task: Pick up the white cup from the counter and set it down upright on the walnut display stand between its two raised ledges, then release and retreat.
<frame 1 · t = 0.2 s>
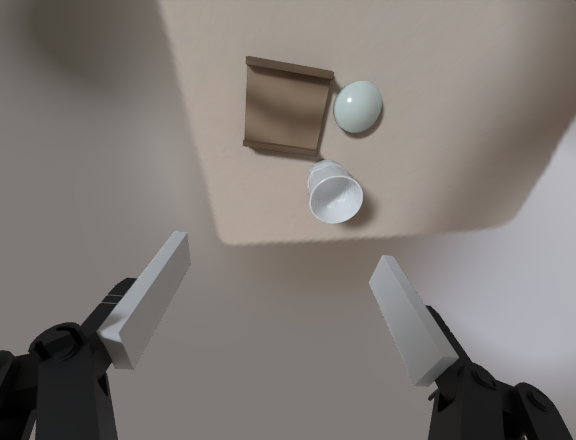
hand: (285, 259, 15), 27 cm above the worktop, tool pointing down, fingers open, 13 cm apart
pale mint domed disc: (354, 107, 34), on the worktop
white cup: (325, 176, 40), on the worktop
stand: (284, 110, 34), on the worktop
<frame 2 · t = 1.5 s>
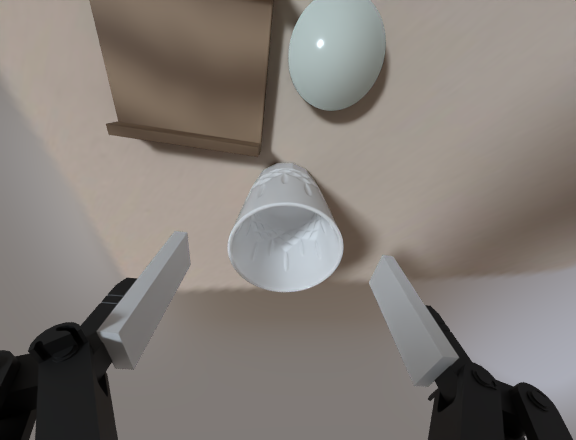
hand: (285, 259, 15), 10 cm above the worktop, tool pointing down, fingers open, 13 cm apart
pale mint domed disc: (331, 59, 17), on the worktop
white cup: (285, 191, 23), on the worktop
stand: (191, 63, 17), on the worktop
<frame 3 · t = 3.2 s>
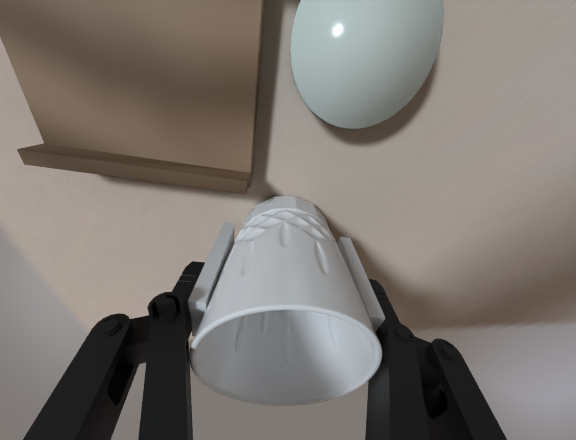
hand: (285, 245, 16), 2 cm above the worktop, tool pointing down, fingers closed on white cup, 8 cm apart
pale mint domed disc: (353, 54, 12), on the worktop
white cup: (285, 231, 18), on the worktop, touching gripper
stand: (147, 60, 12), on the worktop
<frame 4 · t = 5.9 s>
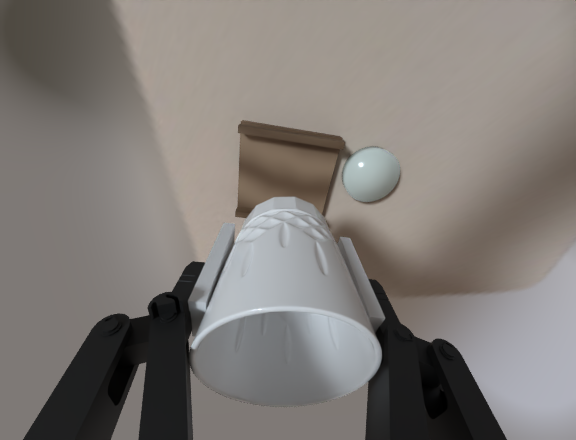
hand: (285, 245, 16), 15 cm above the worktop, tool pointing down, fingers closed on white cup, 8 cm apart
pale mint domed disc: (367, 172, 29), on the worktop
white cup: (285, 231, 18), point 13 cm above the worktop, touching gripper
stand: (285, 175, 29), on the worktop
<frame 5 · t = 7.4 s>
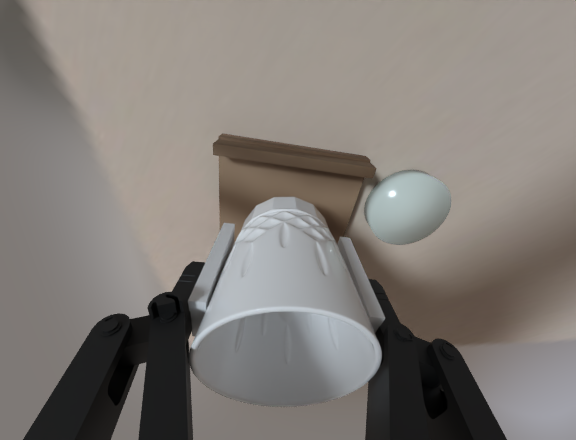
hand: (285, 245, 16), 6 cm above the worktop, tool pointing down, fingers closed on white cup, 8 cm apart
pale mint domed disc: (399, 203, 21), on the worktop
white cup: (285, 231, 18), point 4 cm above the worktop, touching gripper
stand: (285, 208, 21), on the worktop
when the fingers open (4 cm above the worktop, at t = 8.6 s): white cup drops 1 cm, resting on stand.
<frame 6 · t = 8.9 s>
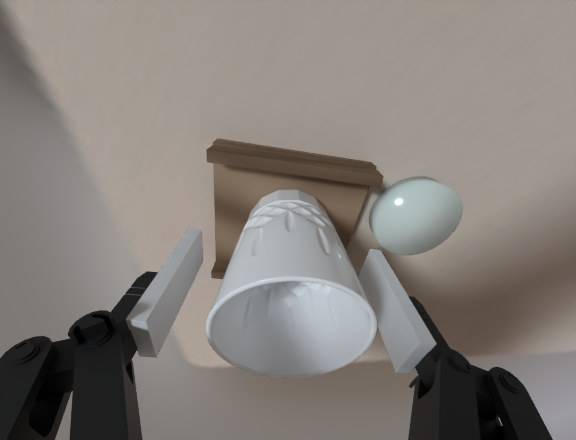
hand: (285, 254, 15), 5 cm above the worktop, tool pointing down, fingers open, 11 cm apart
pale mint domed disc: (406, 211, 20), on the worktop
white cup: (288, 223, 19), point 1 cm above the worktop, touching stand
stand: (285, 217, 20), on the worktop
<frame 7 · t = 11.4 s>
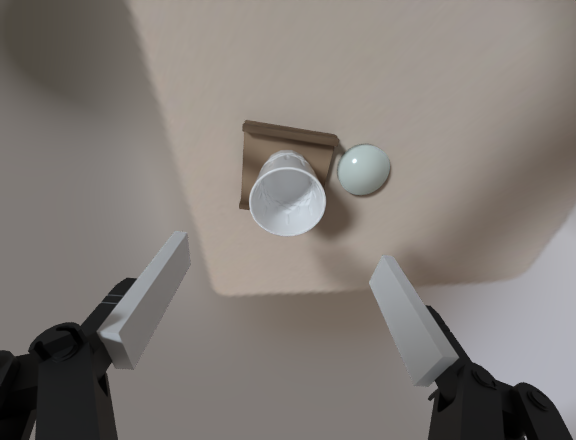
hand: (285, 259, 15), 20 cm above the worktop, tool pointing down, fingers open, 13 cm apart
pale mint domed disc: (360, 167, 32), on the worktop
white cup: (286, 173, 31), point 1 cm above the worktop, touching stand
stand: (284, 170, 32), on the worktop
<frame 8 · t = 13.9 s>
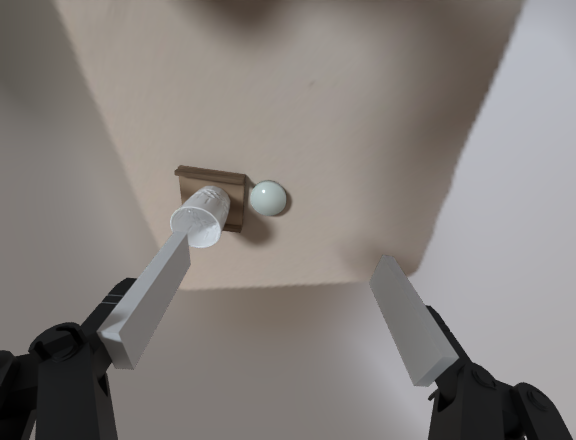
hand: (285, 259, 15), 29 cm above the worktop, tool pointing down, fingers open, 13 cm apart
pale mint domed disc: (269, 196, 44), on the worktop
white cup: (213, 200, 43), point 1 cm above the worktop, touching stand
stand: (214, 198, 44), on the worktop
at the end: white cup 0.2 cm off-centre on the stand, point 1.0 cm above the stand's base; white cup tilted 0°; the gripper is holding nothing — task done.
